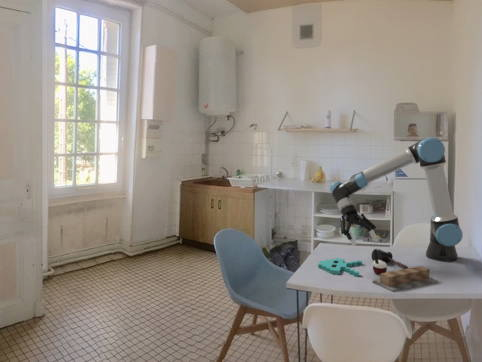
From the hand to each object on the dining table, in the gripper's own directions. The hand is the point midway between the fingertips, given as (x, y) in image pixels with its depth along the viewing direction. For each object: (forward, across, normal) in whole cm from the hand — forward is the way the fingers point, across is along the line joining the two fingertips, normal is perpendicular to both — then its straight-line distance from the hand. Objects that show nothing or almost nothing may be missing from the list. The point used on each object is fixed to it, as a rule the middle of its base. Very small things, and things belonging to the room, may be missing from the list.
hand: (366, 243), depth 196 cm
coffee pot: (+9, -15, -9) cm, 20 cm away
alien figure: (+5, +11, -14) cm, 18 cm away
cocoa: (+15, -1, -3) cm, 15 cm away
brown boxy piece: (+25, -3, +7) cm, 26 cm away
